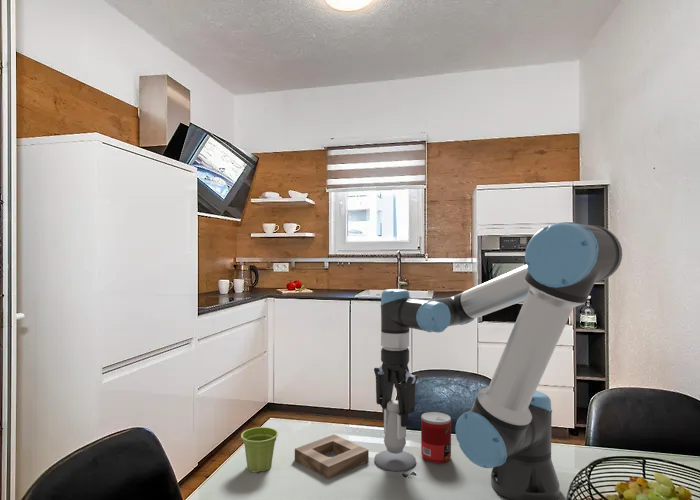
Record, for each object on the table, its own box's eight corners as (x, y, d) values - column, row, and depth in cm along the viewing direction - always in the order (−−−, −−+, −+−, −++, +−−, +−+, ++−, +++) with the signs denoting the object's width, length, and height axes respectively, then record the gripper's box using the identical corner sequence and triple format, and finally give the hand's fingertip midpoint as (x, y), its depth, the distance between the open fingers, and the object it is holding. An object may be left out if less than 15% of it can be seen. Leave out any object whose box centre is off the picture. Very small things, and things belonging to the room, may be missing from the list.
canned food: (451, 465, 120) (451, 423, 120) (420, 462, 121) (420, 420, 121) (450, 452, 127) (450, 412, 127) (421, 449, 129) (421, 410, 129)
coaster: (424, 461, 121) (424, 459, 121) (397, 475, 114) (397, 473, 114) (393, 448, 129) (393, 446, 129) (365, 460, 122) (365, 458, 122)
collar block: (368, 460, 122) (368, 449, 122) (328, 478, 112) (328, 466, 112) (333, 444, 132) (333, 434, 132) (294, 459, 122) (294, 448, 122)
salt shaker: (379, 451, 121) (379, 402, 121) (390, 443, 126) (390, 396, 126) (399, 457, 118) (399, 406, 118) (409, 449, 122) (409, 400, 122)
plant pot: (256, 456, 125) (256, 424, 125) (285, 463, 121) (285, 430, 121) (233, 471, 116) (233, 437, 116) (263, 479, 112) (263, 444, 112)
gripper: (429, 350, 118) (429, 440, 118) (381, 340, 130) (381, 422, 130) (411, 355, 113) (410, 449, 113) (362, 344, 125) (362, 429, 125)
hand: (394, 434), depth 122 cm, fingers closed on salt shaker, 4 cm apart
